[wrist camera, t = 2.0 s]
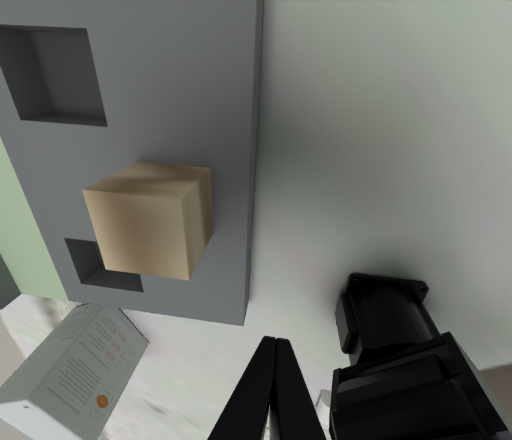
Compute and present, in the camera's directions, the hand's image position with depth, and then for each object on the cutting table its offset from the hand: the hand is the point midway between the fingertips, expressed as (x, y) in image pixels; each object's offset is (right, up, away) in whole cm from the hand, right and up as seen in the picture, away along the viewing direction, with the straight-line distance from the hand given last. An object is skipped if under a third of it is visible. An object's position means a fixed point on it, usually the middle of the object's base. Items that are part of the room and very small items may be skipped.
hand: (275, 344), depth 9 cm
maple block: (-6, +6, +9) cm, 12 cm away
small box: (-18, -8, +22) cm, 30 cm away
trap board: (-12, +8, +12) cm, 19 cm away
